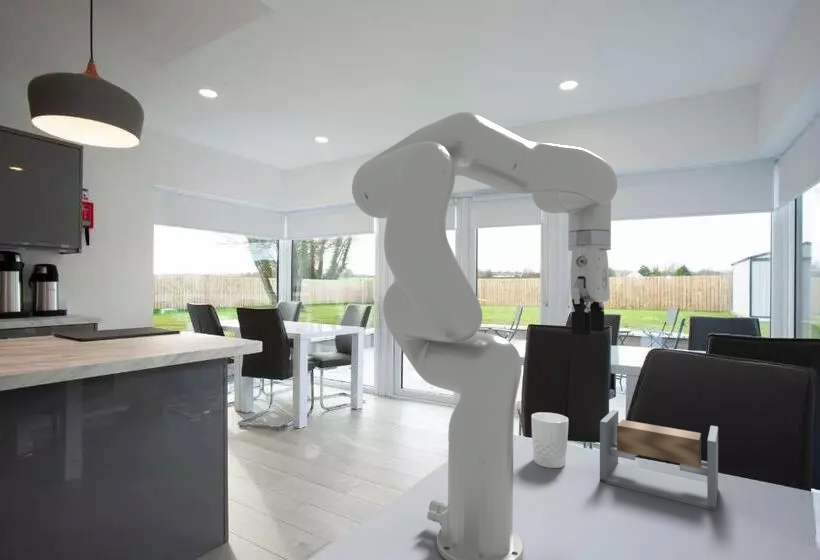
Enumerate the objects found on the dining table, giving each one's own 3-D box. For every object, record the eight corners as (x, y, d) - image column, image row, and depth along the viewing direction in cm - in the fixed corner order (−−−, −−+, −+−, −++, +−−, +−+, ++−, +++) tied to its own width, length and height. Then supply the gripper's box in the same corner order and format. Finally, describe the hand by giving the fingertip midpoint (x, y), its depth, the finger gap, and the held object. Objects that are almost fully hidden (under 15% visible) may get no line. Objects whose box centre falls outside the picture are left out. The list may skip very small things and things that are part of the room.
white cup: (523, 459, 101) (523, 414, 101) (549, 453, 105) (549, 410, 105) (549, 472, 94) (550, 424, 94) (576, 465, 98) (576, 419, 98)
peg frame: (599, 481, 90) (600, 421, 90) (612, 464, 98) (612, 409, 99) (715, 510, 78) (715, 441, 78) (717, 488, 87) (718, 426, 87)
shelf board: (700, 459, 86) (700, 433, 86) (699, 467, 82) (699, 440, 82) (622, 443, 95) (622, 419, 95) (616, 450, 90) (617, 425, 91)
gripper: (598, 236, 75) (597, 338, 75) (620, 245, 89) (619, 330, 89) (554, 238, 80) (553, 334, 80) (581, 246, 94) (581, 328, 94)
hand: (588, 332), depth 84 cm, fingers open, 9 cm apart
